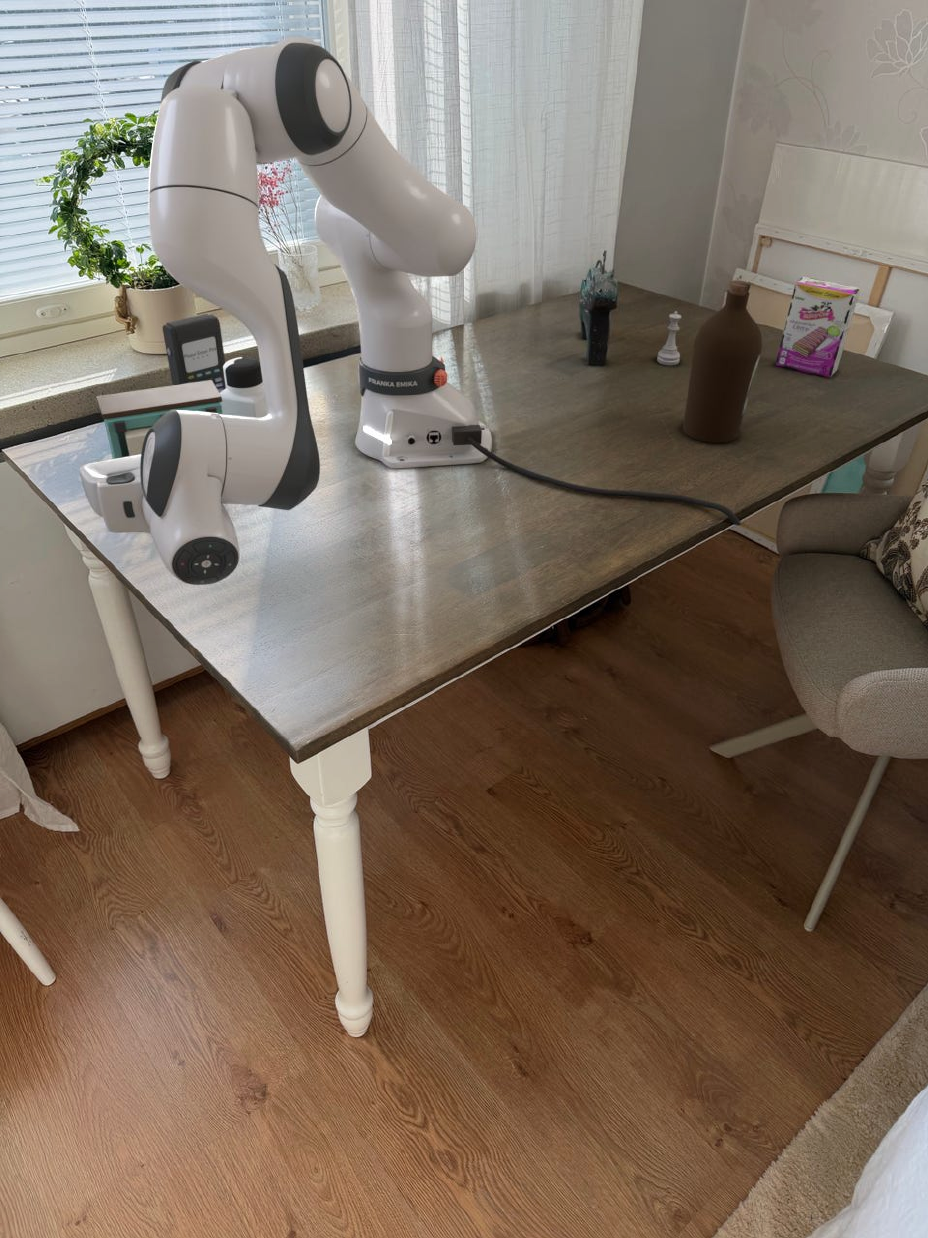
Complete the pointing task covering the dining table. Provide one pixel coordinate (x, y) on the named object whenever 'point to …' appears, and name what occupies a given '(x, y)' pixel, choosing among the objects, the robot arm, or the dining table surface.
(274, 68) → the robot arm
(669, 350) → the chess piece
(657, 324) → the dining table surface
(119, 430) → the toy piano
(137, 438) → the piano key left
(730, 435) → the olive oil
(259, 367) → the medicine bottle
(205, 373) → the card reader
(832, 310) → the candy bar box
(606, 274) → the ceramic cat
